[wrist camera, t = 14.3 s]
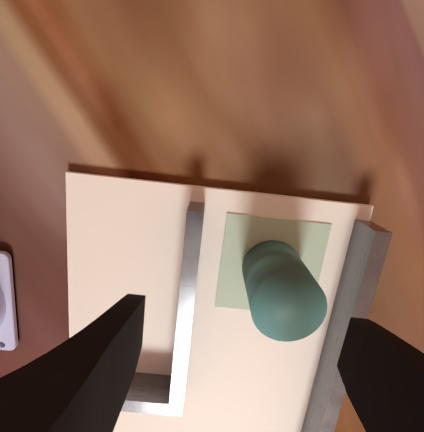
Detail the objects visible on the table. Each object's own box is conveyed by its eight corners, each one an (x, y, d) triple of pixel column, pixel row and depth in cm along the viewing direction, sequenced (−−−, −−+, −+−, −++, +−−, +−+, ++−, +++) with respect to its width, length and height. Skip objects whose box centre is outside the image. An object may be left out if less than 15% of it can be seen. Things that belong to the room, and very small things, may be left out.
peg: (243, 294, 21) (252, 343, 16) (240, 242, 19) (249, 277, 15) (299, 291, 20) (326, 339, 16) (300, 238, 19) (328, 272, 15)
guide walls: (83, 478, 26) (70, 514, 23) (81, 189, 19) (62, 197, 16) (296, 495, 26) (304, 531, 24) (369, 220, 19) (392, 233, 17)
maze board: (75, 479, 26) (72, 487, 26) (69, 171, 19) (64, 172, 18) (292, 496, 27) (294, 504, 26) (369, 204, 19) (374, 206, 19)
